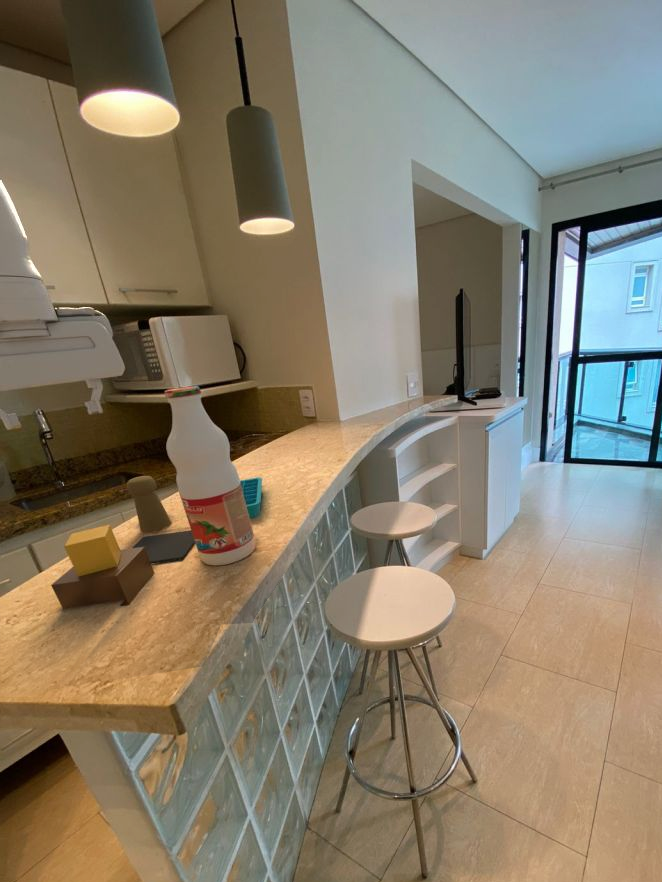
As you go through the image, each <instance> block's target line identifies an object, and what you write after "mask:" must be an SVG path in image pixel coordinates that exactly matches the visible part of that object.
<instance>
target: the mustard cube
mask: <svg viewBox="0 0 662 882" xmlns="http://www.w3.org/2000/svg"><path fill="white" fill-rule="evenodd" d="M63 548H64V550H65V551H66V554H67V556H68V558H69V561H70V562H71V564H72V567H74V569H75V571H76V573H77V575H78V577H80V576H83V575H87V574H91V573H94V572H98V571H102V570H106V569H109V568H113V567H117V566H118V563H119V559H120V556H121V551H120V550H121V549H120V545H119V543H118V541H117V538H116V536H115V534H114V532H113V529H112V526H111V525H110V524H106V525H103V526H98V527H94V528H90V529H85V530H81V531H77V532H72V533H71V534H70V536H69V538H68V539H67V541H66V543H65V544H64V546H63Z"/></svg>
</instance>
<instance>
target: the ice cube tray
mask: <svg viewBox="0 0 662 882" xmlns="http://www.w3.org/2000/svg"><path fill="white" fill-rule="evenodd" d="M240 483H241V487H242V491H243V495H244V499H245V503H246V506H247V510H248V514H249V518H250V519H252V518H257V517H259V516H260V514H261V502H262V488H263V487H262V486H263V478H262V477H259V476H258V477H252V478H247V479H240Z"/></svg>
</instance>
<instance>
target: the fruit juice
mask: <svg viewBox="0 0 662 882" xmlns="http://www.w3.org/2000/svg"><path fill="white" fill-rule="evenodd" d="M164 396H165V399H166V402H167V403H169V405H170V408H171V416H172V419H171V420H172V422H171V423H172V424H171V431H170V433H169V435H168V437H167V441H166V444H165V445H166V446H165V449H166V452H167V453H166V454H167V456H168V458H169V460H170V462H171V463H172V465H173V466H174V468H175V470H176V476H175V482H176V486H177V487H176V488H177V490H178V494H179V497H180V499H181V503H182V506H183V509H184V512H185V515H186V518H187V522H188V525H189V527H190V530H191V531H192V534H193V537H194V540H195V546H196V549H197V553H198V556H199V557H200V560H201V561H202V563H204V564H205V565H209V566H225V565H229V564H234V563H237V562H239V561H241V560H244V559H245V558H247V557H249V556H250V555H252V553H253V552H254V551H255V550H256V546H257V545H256V537H255V534H254V530H253V527H252V522H251V518H249V514H248V510H247V506H246V503H245V499H244V495H243V491H242V487H241V483H240V480H241V479H240V475H239V473H238V470H237V468H236V466H235V465H234V463H233V462H232V460H231V457H230V455H231V445H230V441H229V438H228V436H227V434H226V433H225V432H224V430H222V429H221V427H218V425H216V424H215V423H214V422H213V421H212V419H211V418H210V415H208V413H207V412H206V409H205V407H204V405H203V403H202V398H203V396H202V390H201V388H200V386H198V385H195V386H194V385H193V386H184V387H178V388H172V389H166V390H164Z"/></svg>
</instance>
